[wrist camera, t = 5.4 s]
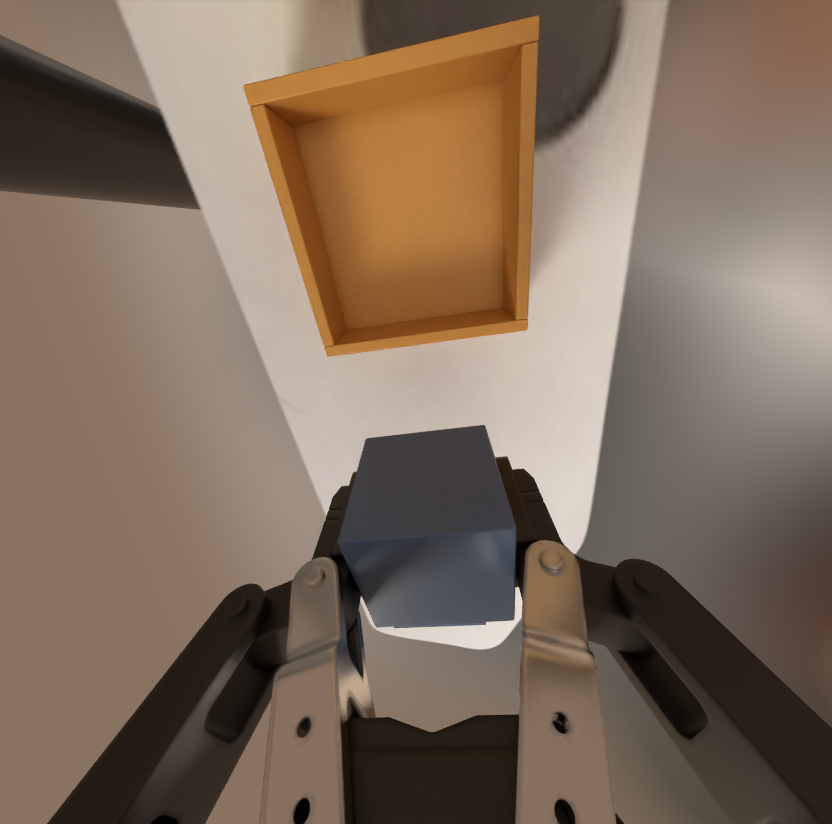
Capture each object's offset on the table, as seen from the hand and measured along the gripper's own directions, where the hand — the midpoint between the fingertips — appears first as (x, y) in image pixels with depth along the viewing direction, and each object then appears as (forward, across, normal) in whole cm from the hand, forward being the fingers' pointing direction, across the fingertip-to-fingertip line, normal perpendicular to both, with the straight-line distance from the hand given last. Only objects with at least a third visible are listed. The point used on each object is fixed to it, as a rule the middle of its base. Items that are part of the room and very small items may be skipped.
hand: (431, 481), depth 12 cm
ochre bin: (+11, 0, -9) cm, 14 cm away
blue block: (0, 0, 0) cm, 0 cm away
